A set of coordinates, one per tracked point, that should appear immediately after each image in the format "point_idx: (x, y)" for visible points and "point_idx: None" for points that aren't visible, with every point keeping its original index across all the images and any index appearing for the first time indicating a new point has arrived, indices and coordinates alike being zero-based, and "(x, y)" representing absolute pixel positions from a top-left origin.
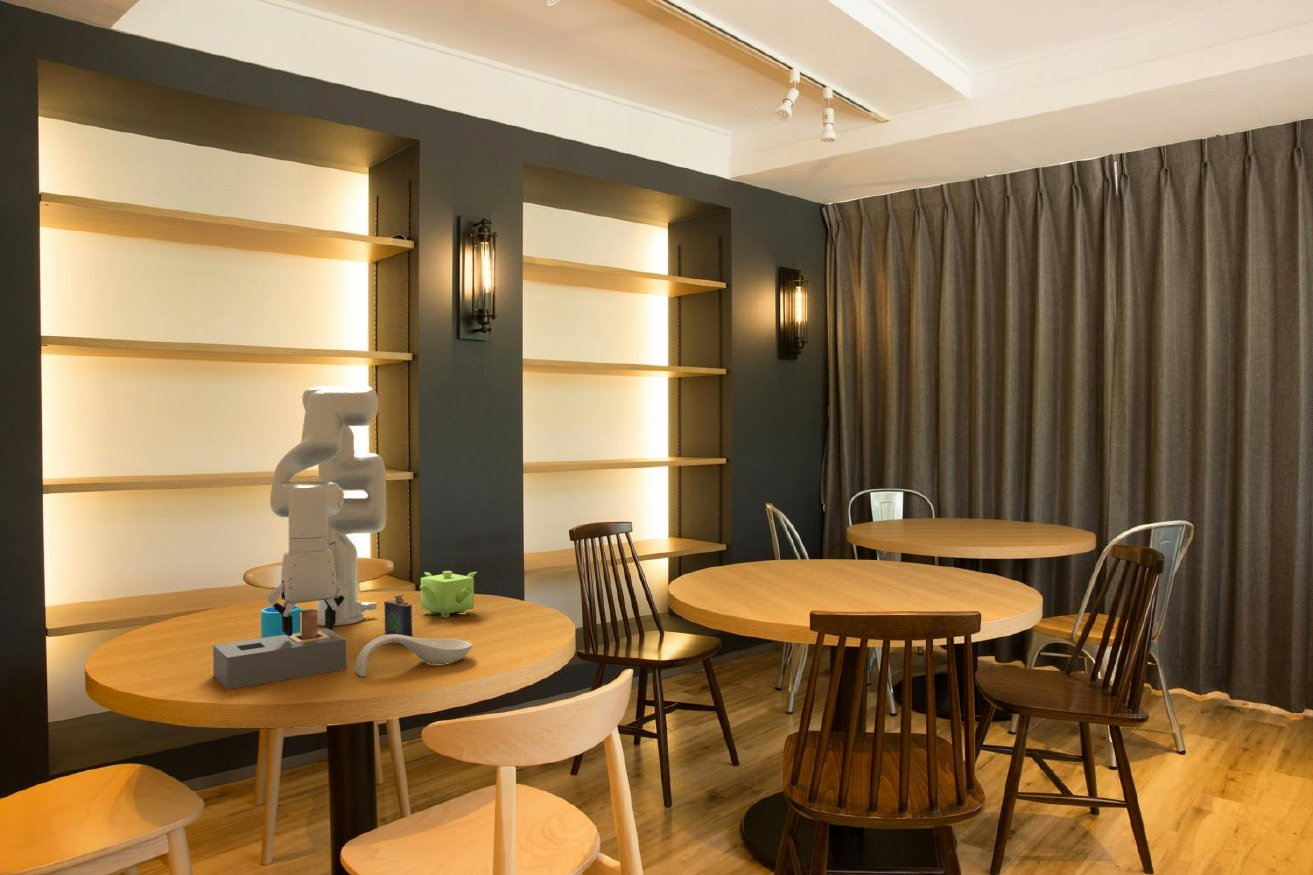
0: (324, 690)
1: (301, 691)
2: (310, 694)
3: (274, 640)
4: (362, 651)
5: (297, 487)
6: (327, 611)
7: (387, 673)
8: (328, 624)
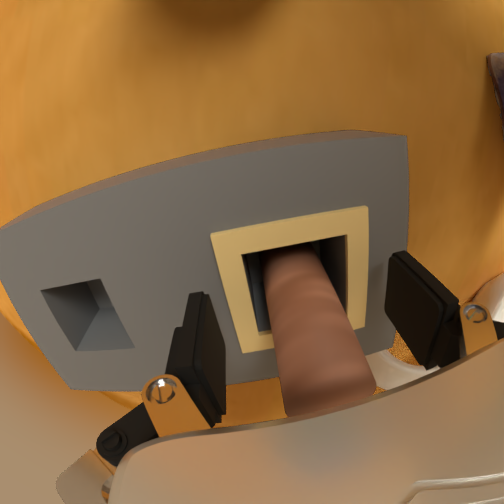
0: (274, 401)
1: (236, 396)
2: (249, 410)
3: (151, 269)
4: (389, 370)
5: None
6: (427, 339)
7: (400, 348)
8: (395, 309)
